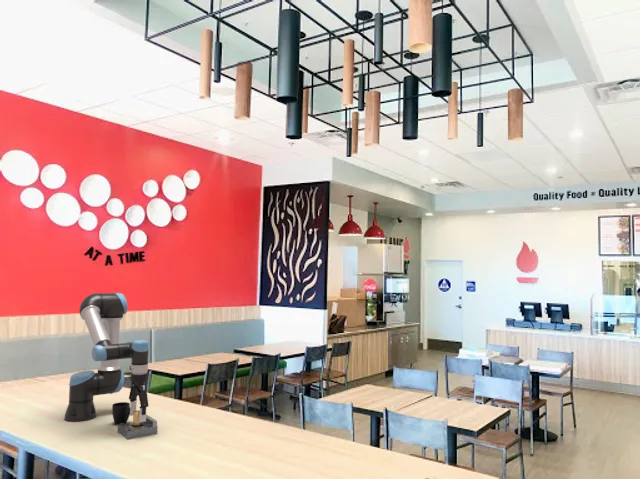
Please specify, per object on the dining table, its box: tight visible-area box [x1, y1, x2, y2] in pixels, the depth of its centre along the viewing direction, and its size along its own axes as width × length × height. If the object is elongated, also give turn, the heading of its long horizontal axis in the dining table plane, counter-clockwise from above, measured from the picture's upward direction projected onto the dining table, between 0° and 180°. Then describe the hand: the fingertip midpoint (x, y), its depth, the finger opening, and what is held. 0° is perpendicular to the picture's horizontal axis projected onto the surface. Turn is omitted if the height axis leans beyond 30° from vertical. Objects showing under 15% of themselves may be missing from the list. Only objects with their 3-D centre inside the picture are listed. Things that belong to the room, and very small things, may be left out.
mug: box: [111, 401, 130, 426], centre depth 260 cm, size 8×12×10 cm
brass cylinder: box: [132, 409, 142, 428], centre depth 246 cm, size 4×4×10 cm
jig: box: [117, 414, 158, 440], centre depth 246 cm, size 14×14×6 cm
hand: (137, 418), depth 246 cm, fingers open, 13 cm apart
